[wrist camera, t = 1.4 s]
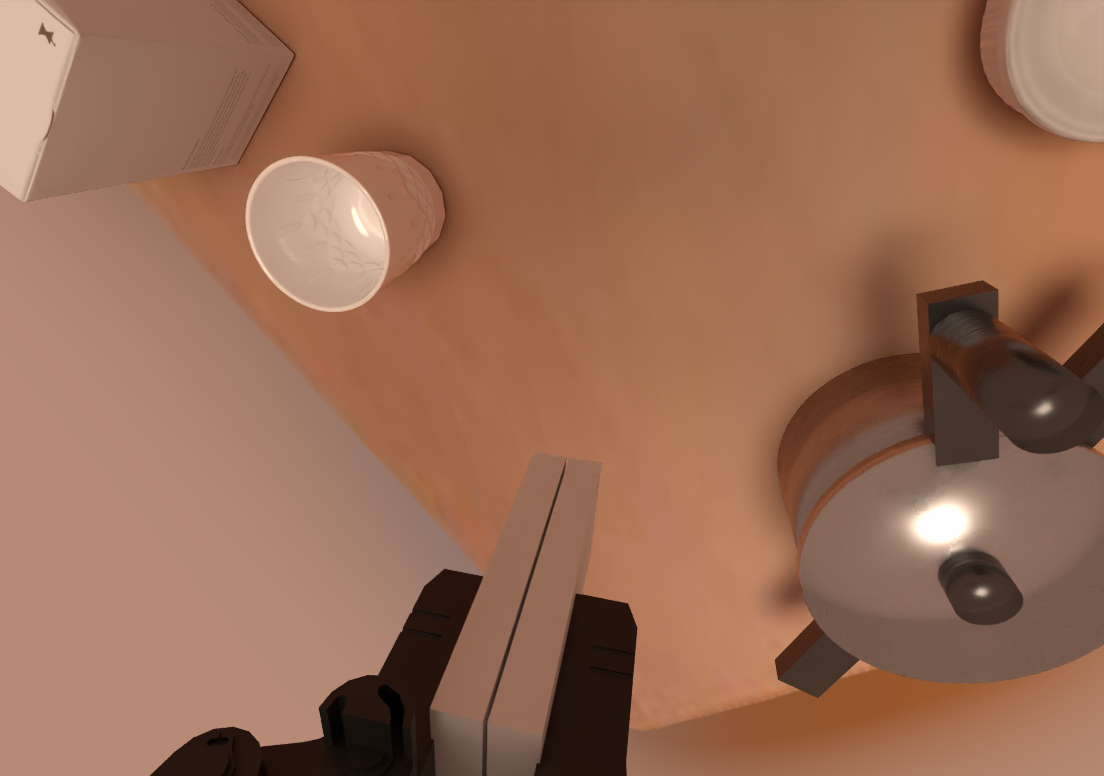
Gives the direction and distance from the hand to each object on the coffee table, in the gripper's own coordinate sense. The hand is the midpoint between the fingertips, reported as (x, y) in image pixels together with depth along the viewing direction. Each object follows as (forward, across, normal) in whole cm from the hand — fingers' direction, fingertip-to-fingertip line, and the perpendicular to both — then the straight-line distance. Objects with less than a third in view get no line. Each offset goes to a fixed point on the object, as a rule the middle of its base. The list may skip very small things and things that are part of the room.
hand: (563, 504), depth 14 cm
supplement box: (+26, -28, +9) cm, 40 cm away
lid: (+17, +18, -9) cm, 27 cm away
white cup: (+26, -16, +1) cm, 31 cm away
